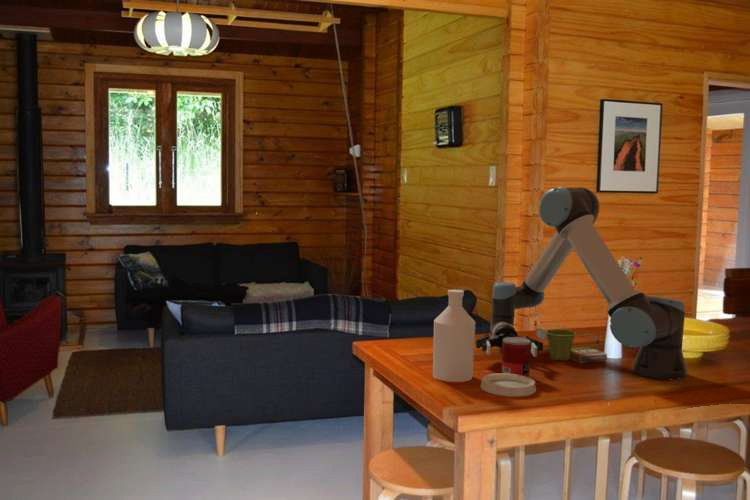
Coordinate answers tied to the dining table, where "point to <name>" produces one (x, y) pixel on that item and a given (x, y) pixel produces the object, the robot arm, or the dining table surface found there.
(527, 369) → the canned food
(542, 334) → the eyeglasses
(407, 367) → the dining table surface
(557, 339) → the plant pot
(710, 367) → the dining table surface
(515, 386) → the dish
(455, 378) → the bottle
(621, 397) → the dining table surface
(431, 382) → the dining table surface
